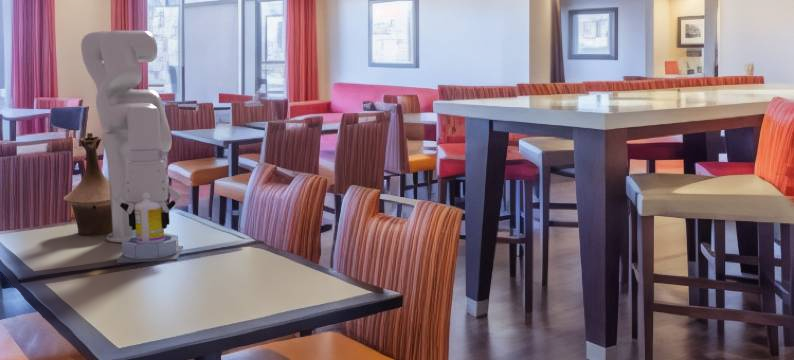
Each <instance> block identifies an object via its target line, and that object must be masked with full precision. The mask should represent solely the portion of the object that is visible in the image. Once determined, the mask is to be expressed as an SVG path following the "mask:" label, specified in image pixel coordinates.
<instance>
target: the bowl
mask: <svg viewBox="0 0 794 360" xmlns="http://www.w3.org/2000/svg"><path fill="white" fill-rule="evenodd" d="M179 246H180V245H179V235H176V234H173V233H172V234H170V233H167V232H166V233H165V232H164V241H163V242H159V243H148V244H138V243H137V241H136V236H132V237H127V238H125V239H124V240H123V241H122V243H121V252H122V254H123V255H124V257H125V258H128V259H136V260H148V259H159V258H165V257H169V256H172V255H175V254H177V253H178V247H179ZM122 254H121V255H122Z"/></svg>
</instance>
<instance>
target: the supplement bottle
mask: <svg viewBox="0 0 794 360" xmlns="http://www.w3.org/2000/svg"><path fill="white" fill-rule="evenodd" d="M142 197H143V199H144V200H143V202H140V203H136V204H135V206H134V212H135V227H136V241H137V243H138V244H148V243H159V242H163V241H164V233H165V229H164V228H163V223H162V213H163V208H162V207H161V205H160V203H159V202H151V201H150V200H149V197H151V196H150V194H149V193H143V196H142Z"/></svg>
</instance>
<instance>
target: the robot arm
mask: <svg viewBox="0 0 794 360" xmlns="http://www.w3.org/2000/svg"><path fill="white" fill-rule="evenodd" d="M80 49H81V52H80V53H81V57H82V61H83V64H84V67H85V68H86V70H87V73H88V74H89V76H90V77H91V79H92V81H93V83H94V85H95V87H96V90H97V93H96V97H95V98H96V99H95V105H96V111H97V115H98V120H99V125H100V127H101V129H102V141H103V143H102V144H103V147H104V151H105V152H104V153H105V155H106V156H105V157H106V162H107V169H108V170H107V171H108V180H109V185H110V201H111V216H112V233H110V234H108V235H106V240H107V241H108V242H111V243H121V244H122V241H123V240H124V239H125V238H127V237H132V236H136V227H135V212H134V206H135V204H136V203H140V202H143V200H144V199H143V197H142V196H143V193H149V194H150V196H151V197H149V200H150V201H151V202H159V203H160V205H161V207H162V208H163V213H162V223H163V228H164V230H165V229H167V228H168V225H170V224H171V223H170V210H172V208H173V207H174V206H175V205H176V204H177V203H178V202H179V201H180V199H181V198H182V194H181V193H180V192H178V191H177V190H176V189H174V187H172V186H170V178H169V173H168V172H169V171H168V168H167V167H168V166H167V163H166V160H163V158H165V157H168V152H169V151H170V150H171V149H172V146H173V140H172V132H171V129H170V125H169V121H168V117H167V114H166V111H165V107H164V103H163V100H162V98H161V96H160V94H159V93H158V92H157V91H155V90H152V89H134V88H136V87H137V86H138V85H139V84H140V83H141V82H142V78H143V73H142V70H141V67H140V63H152V62H154V61H155V60H156V59H157V57H158V44H157V40H156V38H155V36H154V35H153V33H152V32H150V31H147V30H135V29H134V30H131V29H130V30H103V31H102V30H101V31H94V32H93V31H92V32H90V33H87V34H85V35H84V36H83V37H82V40H81V44H80ZM170 196H173V198H172V200H171V201H170V202H169V203H168V201H167V200H168V199H169V198H170Z"/></svg>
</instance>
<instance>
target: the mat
mask: <svg viewBox="0 0 794 360" xmlns="http://www.w3.org/2000/svg"><path fill="white" fill-rule="evenodd" d="M183 249H184V246H183V245H179V247H178V253H177V254H175V255H172V256H169V257H165V258H159V259H148V260H136V259H128V258H125V257H124V255H123V254H121V255H120V256H119V258H117V260H116V264H123V263H124V264H127V263H129V264H130V263H146V262H168V261H169V262H170V261H178V259H179V257H180V255H181V253H182V251H181V250H183ZM180 252H181V253H180Z"/></svg>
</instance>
